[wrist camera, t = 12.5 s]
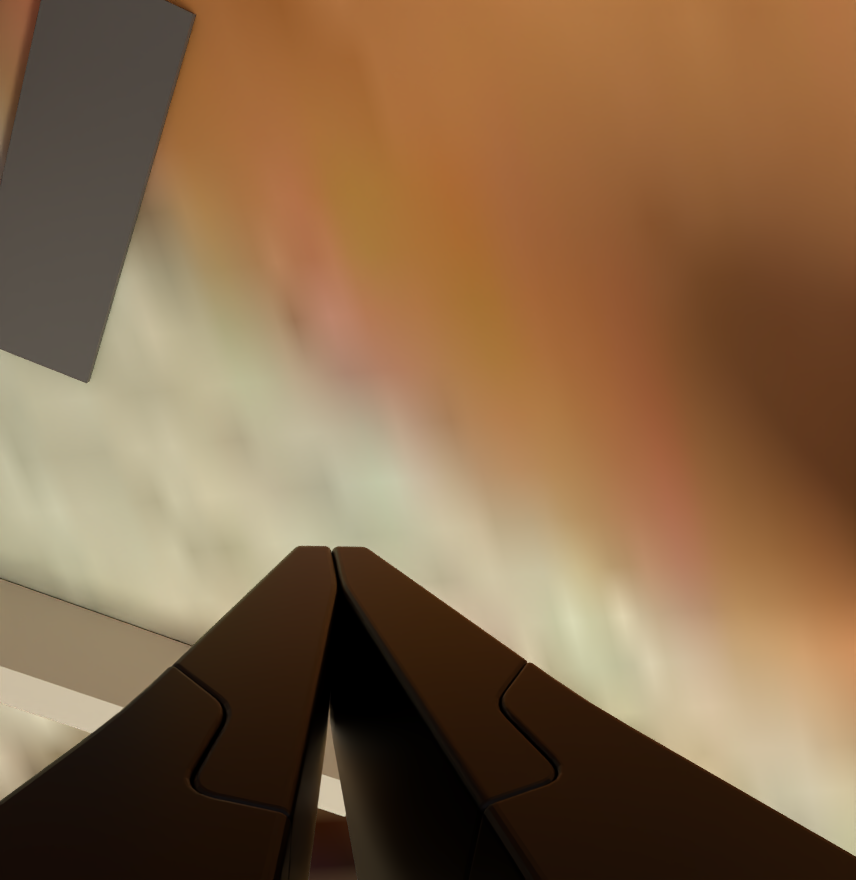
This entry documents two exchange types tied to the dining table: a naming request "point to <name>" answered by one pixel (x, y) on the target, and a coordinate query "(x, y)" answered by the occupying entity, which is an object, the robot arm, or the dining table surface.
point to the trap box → (84, 306)
